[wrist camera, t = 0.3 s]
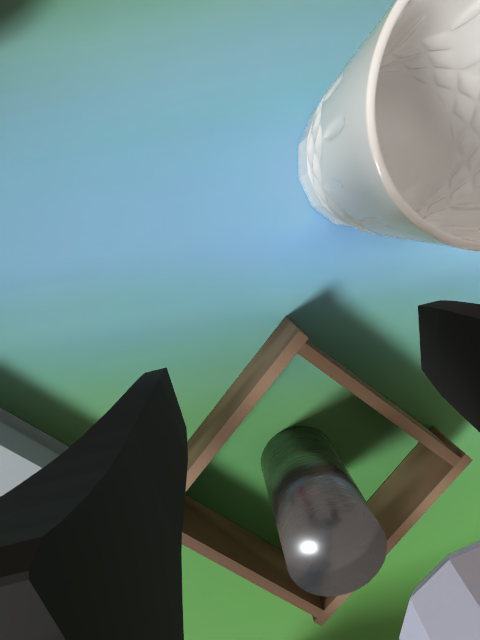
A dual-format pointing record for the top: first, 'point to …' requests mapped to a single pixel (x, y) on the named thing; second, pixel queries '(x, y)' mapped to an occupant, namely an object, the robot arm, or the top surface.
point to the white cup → (403, 129)
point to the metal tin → (320, 514)
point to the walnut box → (386, 503)
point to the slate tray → (23, 450)
